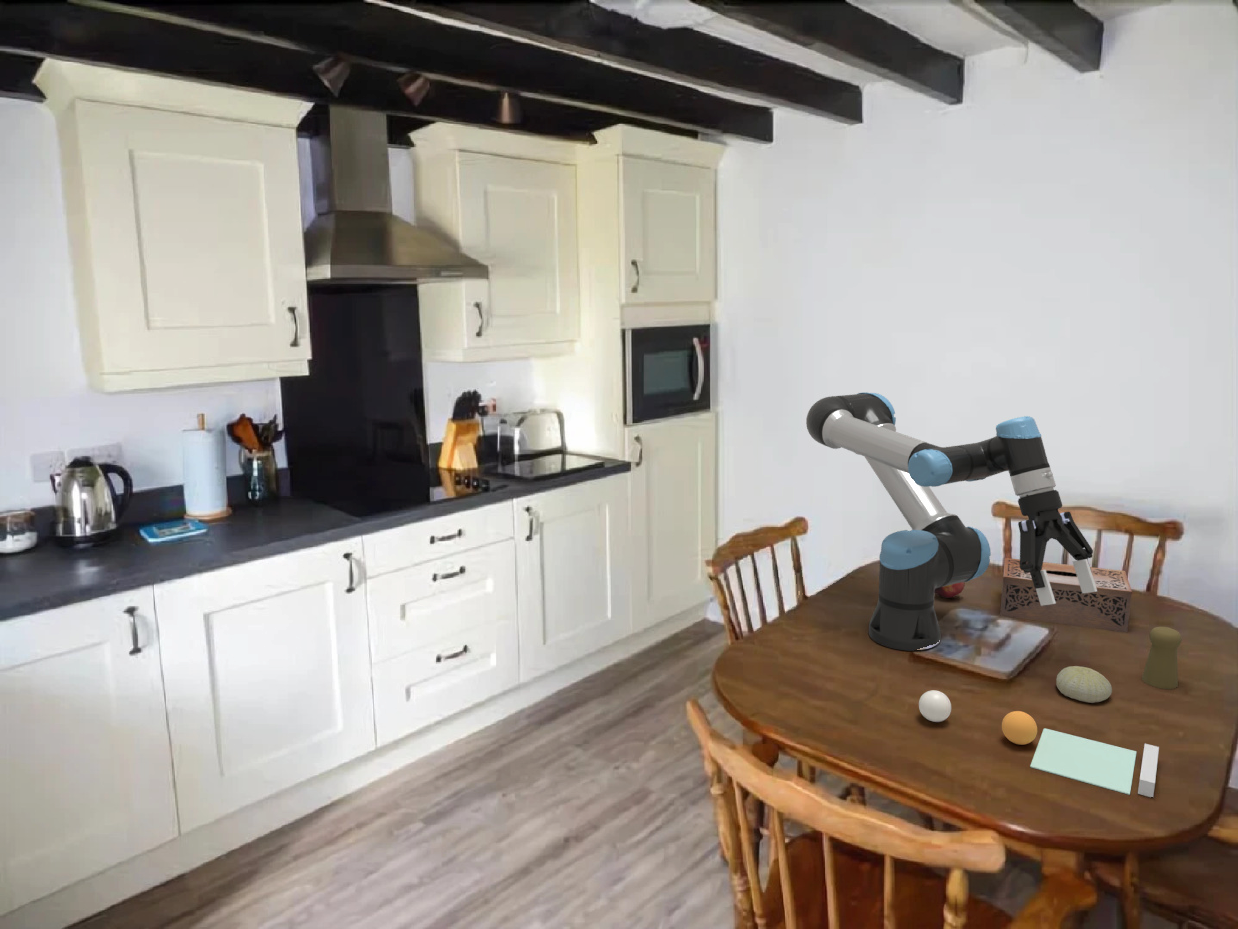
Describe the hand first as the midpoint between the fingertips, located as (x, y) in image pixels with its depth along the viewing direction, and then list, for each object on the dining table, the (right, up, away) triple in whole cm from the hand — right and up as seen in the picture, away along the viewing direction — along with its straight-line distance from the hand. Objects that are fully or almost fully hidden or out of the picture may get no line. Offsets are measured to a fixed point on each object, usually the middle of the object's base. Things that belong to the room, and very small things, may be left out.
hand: (1069, 598), depth 164 cm
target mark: (-11, -23, -25) cm, 35 cm away
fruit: (-6, -7, +46) cm, 47 cm away
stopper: (-4, -24, -30) cm, 38 cm away
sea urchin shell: (+1, -18, -3) cm, 18 cm away
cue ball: (-31, -18, -12) cm, 37 cm away
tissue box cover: (+17, -9, +35) cm, 40 cm away
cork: (+18, -17, +1) cm, 24 cm away
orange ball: (-19, -19, -20) cm, 34 cm away
